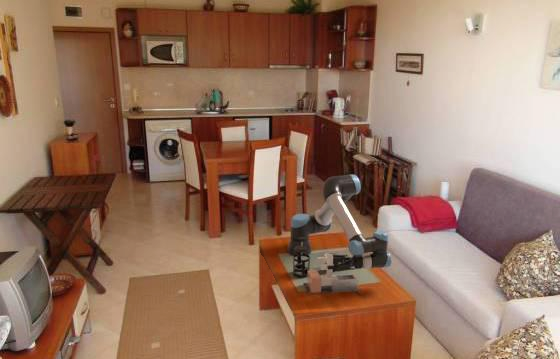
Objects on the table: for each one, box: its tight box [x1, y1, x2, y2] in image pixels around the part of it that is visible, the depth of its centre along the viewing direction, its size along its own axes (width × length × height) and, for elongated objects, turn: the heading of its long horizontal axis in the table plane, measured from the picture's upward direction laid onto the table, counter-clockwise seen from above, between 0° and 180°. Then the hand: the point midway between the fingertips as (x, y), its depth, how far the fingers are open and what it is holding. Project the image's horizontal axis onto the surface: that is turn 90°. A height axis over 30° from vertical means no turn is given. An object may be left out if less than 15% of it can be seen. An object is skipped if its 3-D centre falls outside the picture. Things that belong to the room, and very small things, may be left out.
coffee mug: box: [324, 252, 340, 273], centre depth 256 cm, size 12×9×10 cm
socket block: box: [306, 269, 321, 293], centre depth 232 cm, size 10×5×8 cm, turn 9°
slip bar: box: [319, 254, 338, 286], centre depth 232 cm, size 4×12×16 cm, turn 99°
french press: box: [292, 237, 311, 279], centre depth 247 cm, size 12×9×23 cm
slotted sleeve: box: [302, 273, 360, 295], centre depth 234 cm, size 12×27×6 cm, turn 99°
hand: (318, 263), depth 230 cm, fingers open, 8 cm apart
